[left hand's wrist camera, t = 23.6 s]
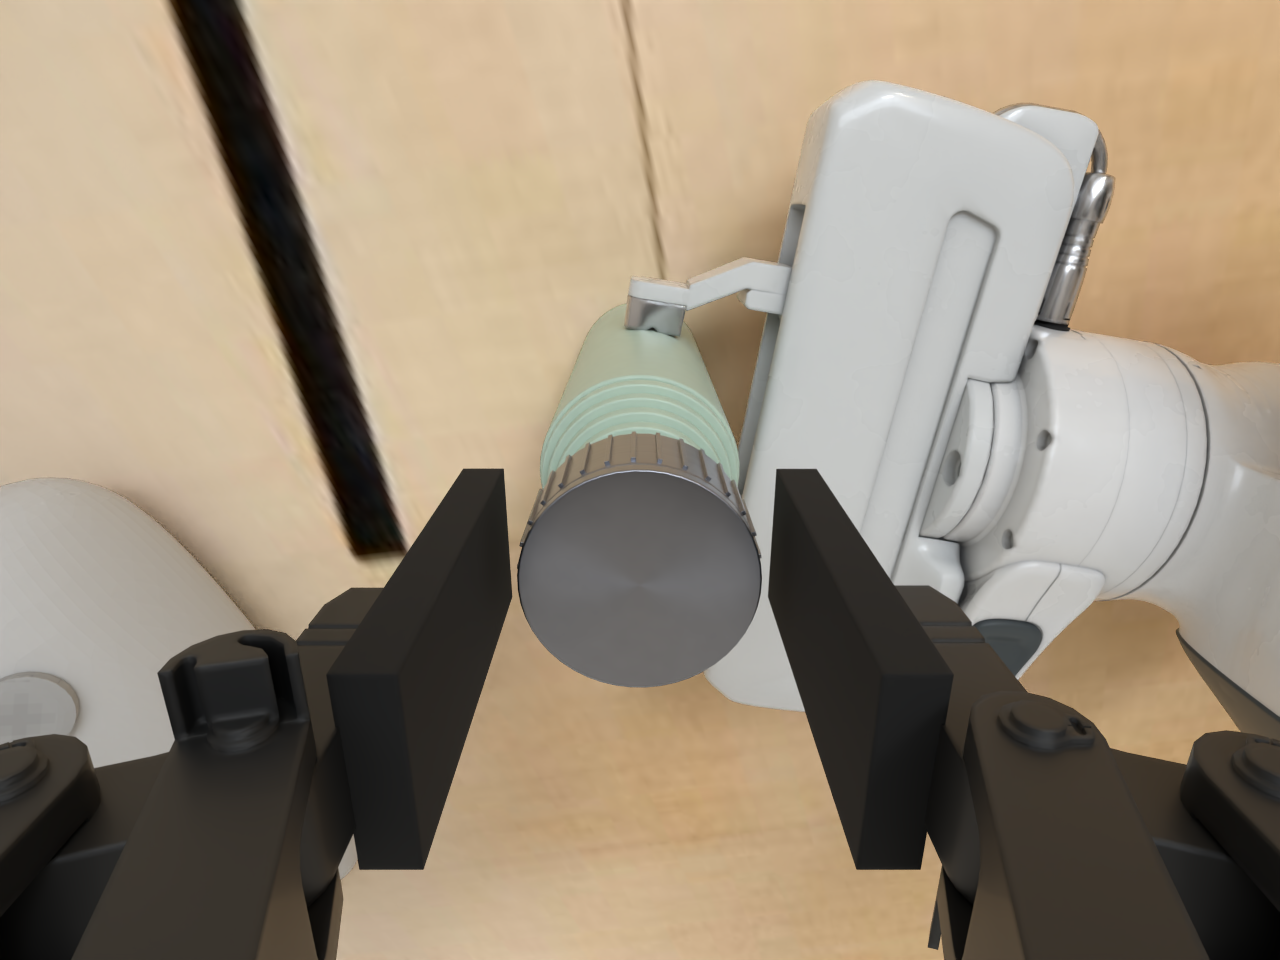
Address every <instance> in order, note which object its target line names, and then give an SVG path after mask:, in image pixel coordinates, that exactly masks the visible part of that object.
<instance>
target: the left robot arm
mask: <svg viewBox="0 0 1280 960" xmlns="http://www.w3.org/2000/svg"><path fill="white" fill-rule="evenodd" d="M511 599H512V586H511V571H510V557H509V542H508V527H507V512H506V497H505V482H504V469H463V470H462V472H461V473H460V475H459V476H458V478H457V479H456V481H455V482H454V484H453V485H452V487H451V488H450V490H449V491H448V493H447V494H446V496H445V497H444V499H443V500H442V502H441V503H440V505H439V506H438V508H437V509H436V511H435V512H434V514H433V515H432V517H431V518H430V520H429V521H428V523H427V524H426V526H425V527H424V529H423V530H422V532H421V533H420V535H419V536H418V538H417V539H416V541H415V542H414V544H413V545H412V547H411V548H410V550H409V551H408V553H407V554H406V556H405V557H404V559H403V560H402V562H401V563H400V565H399V566H398V568H397V569H396V571H395V572H394V574H393V575H392V577H391V578H390V580H389V581H388V583H387V584H386V586H385V587H384V588H350V589H349V590H347V591H346V592H344V593H342V594H341V595H339V596H338V597H336V598H334V599H333V600H331V601H330V602H328V603H327V604H325V605H324V606H323V607H322V608H321V610H320V611H319V612H318V614H317V615H316V616H315V617H314V619H313V620H312V621H311V622H310V624H309V628H308V629H305V630H304V631H303V633H302V634H301V635H300V636H299V638H298V639H297V640H296V641H295V640H294V639H292V638H291V637H290V636H288V635H287V634H286V633H282V632H277V631H272V630H268V629H263V630H242V631H237V632H232V633H227V634H223V635H218V636H215V637H212V638H210V639H207V640H205V641H202V642H199V643H197V644H194V645H192V646H190V647H188V648H187V649H185V650H183V651H182V652H180V653H179V654H177V655H175V656H174V657H172V658H170V660H169V661H168V662H167V663H166V664H165V665H164V666H163V667H162V668H161V669H160V670H159V671H158V673H157V674H158V678H159V682H160V686H161V689H162V693H163V697H164V701H165V705H166V708H167V712H168V716H169V720H170V724H171V727H172V731H173V735H174V739H175V740H174V743H173V745H172V747H171V749H170V751H169V752H166V753H162V754H159V755H155V756H150V757H146V758H141V759H136V760H131V761H126V762H121V763H117V764H112V765H107V766H102V767H97V768H94V766H93V763H92V760H91V757H90V754H89V750H88V747H87V745H86V744H84V743H83V742H82V741H80V740H79V739H78V738H77V737H74V736H67V735H59V734H50V735H42V736H34V737H26V738H22V739H18V740H13V742H10V743H9V742H7V743H4V744H1V745H0V960H336V955H337V947H338V939H339V930H340V922H341V914H342V905H343V893H342V886H341V880H340V874H339V869H338V867H339V864H340V862H341V860H342V858H343V856H344V853H345V851H346V849H347V847H348V845H349V842H350V840H351V838H352V836H353V835H354V840H355V846H356V852H357V858H358V864H359V869H360V870H423V869H424V866H425V863H426V860H427V857H428V854H429V851H430V848H431V845H432V842H433V838H434V835H435V832H436V829H437V826H438V823H439V820H440V817H441V814H442V811H443V808H444V805H445V802H446V799H447V795H448V792H449V789H450V786H451V783H452V780H453V777H454V774H455V771H456V768H457V765H458V762H459V759H460V756H461V752H462V749H463V746H464V743H465V740H466V737H467V734H468V731H469V728H470V725H471V722H472V719H473V716H474V713H475V709H476V706H477V703H478V700H479V697H480V694H481V691H482V688H483V685H484V682H485V679H486V676H487V673H488V670H489V666H490V663H491V660H492V657H493V654H494V651H495V648H496V645H497V642H498V639H499V636H500V633H501V630H502V627H503V623H504V620H505V617H506V614H507V611H508V608H509V605H510V602H511ZM768 599H769V602H770V605H771V608H772V611H773V614H774V617H775V620H776V623H777V627H778V630H779V633H780V636H781V639H782V642H783V645H784V648H785V651H786V654H787V657H788V660H789V663H790V666H791V670H792V673H793V676H794V679H795V682H796V685H797V688H798V691H799V694H800V697H801V700H802V703H803V706H804V709H805V713H806V716H807V719H808V722H809V725H810V728H811V731H812V734H813V737H814V740H815V743H816V746H817V749H818V753H819V756H820V759H821V762H822V765H823V768H824V771H825V774H826V777H827V780H828V783H829V786H830V789H831V792H832V796H833V799H834V802H835V805H836V808H837V811H838V814H839V817H840V820H841V823H842V826H843V829H844V832H845V835H846V839H847V842H848V845H849V848H850V851H851V854H852V857H853V860H854V863H855V866H856V869H857V870H920V869H921V864H922V858H923V852H924V846H925V840H926V834H927V832H928V834H929V836H930V839H931V841H932V843H933V845H934V847H935V850H936V852H937V854H938V856H939V858H940V860H941V863H942V869H941V874H940V880H939V885H938V891H937V896H936V901H935V907H934V912H933V918H932V923H931V928H930V935H929V942H928V948H933V949H937V950H938V947H939V942H940V937H942V945H943V953H944V960H1280V741H1279V740H1276V739H1273V738H1272V739H1269V737H1266V736H1261V735H1257V734H1250V733H1242V732H1234V731H1219V732H1211V733H1205V734H1204V735H1203V736H1201V737H1200V738H1199V739H1198V740H1196V741H1195V742H1194V744H1193V747H1192V750H1191V753H1190V757H1189V760H1188V763H1187V765H1185V764H1180V763H1175V762H1170V761H1165V760H1161V759H1156V758H1151V757H1146V756H1141V755H1136V754H1131V753H1126V752H1123V751H1119V750H1115V749H1112V748H1109V745H1108V743H1107V741H1106V739H1105V738H1104V736H1103V735H1102V734H1101V733H1100V731H1099V730H1098V729H1097V727H1096V726H1095V725H1094V723H1092V722H1091V721H1090V720H1088V719H1087V718H1085V717H1084V716H1083V715H1081V714H1080V713H1078V712H1077V711H1076V710H1074V709H1073V708H1071V707H1068V706H1066V705H1064V704H1062V703H1059V702H1057V701H1055V700H1053V699H1050V698H1047V697H1043V696H1039V695H1035V694H1031V693H1028V692H1027V691H1026V690H1025V689H1024V687H1023V686H1022V685H1021V684H1020V682H1019V681H1018V680H1017V679H1016V677H1015V676H1014V675H1013V673H1012V672H1011V671H1010V670H1009V668H1008V667H1007V666H1006V665H1005V663H1004V662H1003V661H1002V660H1001V658H1000V657H999V656H998V655H997V653H996V652H995V651H994V650H993V648H992V647H991V646H990V644H989V643H985V638H984V637H983V636H982V634H981V633H980V632H979V631H978V629H977V628H976V627H975V626H972V622H971V621H970V619H969V618H968V617H967V616H966V614H965V613H964V612H963V610H962V609H961V608H960V607H959V605H958V604H957V603H956V602H955V601H953V600H951V599H950V598H948V597H947V596H945V595H944V594H942V593H940V592H939V591H937V590H936V589H934V588H932V587H931V586H929V585H894V584H893V583H892V581H891V580H890V578H889V577H888V575H887V574H886V572H885V571H884V569H883V568H882V566H881V565H880V563H879V562H878V560H877V559H876V557H875V556H874V554H873V553H872V551H871V550H870V548H869V547H868V545H867V544H866V542H865V541H864V539H863V538H862V536H861V535H860V533H859V532H858V530H857V529H856V527H855V526H854V524H853V523H852V521H851V520H850V518H849V517H848V515H847V514H846V512H845V511H844V509H843V508H842V506H841V505H840V503H839V502H838V500H837V499H836V497H835V496H834V494H833V493H832V491H831V490H830V488H829V487H828V485H827V484H826V482H825V481H824V479H823V478H822V476H821V475H820V473H819V472H818V470H817V469H776V482H775V497H774V512H773V527H772V541H771V556H770V571H769V586H768Z"/></svg>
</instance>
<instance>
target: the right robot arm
mask: <svg viewBox="0 0 1280 960" xmlns="http://www.w3.org/2000/svg"><path fill="white" fill-rule="evenodd" d="M1090 158H1091V161H1092V164H1091V173H1086V170H1087V167H1088V164H1089V161H1090ZM1107 160H1108V155H1107V148H1106V144H1105V141H1104V138H1103V136H1102V134H1101V132H1100V130H1099V129H1098V127H1097V124H1096V123H1095V122H1094V121H1092V120H1091V119H1089V118H1088V117H1086V116H1085V115H1082V114H1080V113H1078V112H1076V111H1072V110H1067V109H1061V108H1056V107H1050V106H1045V105H1039V104H1034V103H1018V104H1012V105H1009V106H1006V107H1003V108H1001V109H999V110H997V111H995V112H993V113H990V112H988V111H985V110H982V109H979V108H977V107H974V106H971V105H968V104H965V103H963V102H960V101H957V100H953V99H950V98H947V97H944V96H941V95H937V94H934V93H931V92H927V91H924V90H920V89H916V88H912V87H908V86H904V85H900V84H895V83H890V82H885V81H879V80H868V81H862V82H857V83H855V84H852V85H850V86H848V87H846V88H844V89H842V90H840V91H839V92H837V93H836V94H834V95H833V96H832V97H830V98H829V99H828V100H826V101H825V102H824V103H823V104H822V105H820V106H819V107H818V108H817V109H815V110H814V111H813V113H812V114H811V115H810V117H809V119H808V122H807V126H806V130H805V135H804V139H803V144H802V149H801V154H800V158H799V163H798V168H797V172H796V177H795V182H794V186H793V191H792V196H791V200H790V205H789V210H788V215H787V219H786V224H785V229H784V233H783V238H782V243H781V247H780V252H779V257H778V262H771V261H765V260H759V259H752V258H746V257H742V258H740V259H737V260H735V261H732V262H730V263H727V264H725V265H722V266H719V267H717V268H714V269H712V270H709V271H707V272H704V273H702V274H699V275H697V276H694V277H692V278H689V279H687V281H686V283H680V282H674V281H668V280H662V279H656V278H649V277H643V276H631V280H630V286H629V293H628V299H627V306H626V314H625V321H624V326H625V327H627V328H631V329H635V330H648V329H650V328H652V327H653V328H654V329H655V330H656V331H657V332H658V333H662V334H666V335H672V336H679V337H680V335H681V330H682V324H683V319H684V314H685V309H686V311H688V310H691V309H693V308H696V307H699V306H701V305H704V304H707V303H709V302H712V301H715V300H718V299H720V298H723V297H726V296H728V295H731V294H734V293H736V292H737V298H738V300H739V301H740V302H741V303H742V304H743V305H744V306H745V307H746V308H747V309H751V310H756V311H762V312H767V313H766V318H765V323H764V327H763V332H762V337H761V341H760V346H759V351H758V355H757V360H756V365H755V369H754V374H753V379H752V384H751V388H750V393H749V398H748V402H747V407H746V412H745V416H744V421H743V426H742V430H741V435H740V440H739V445H738V455H739V463H740V468H739V481H738V490H739V493H740V496H741V499H744V500H745V503H746V506H747V509H748V512H749V514H750V517H751V520H752V523H753V526H754V529H755V531H756V534H757V536H755V538H756V541H757V544H758V546H759V549H760V552H761V557H762V558H760V561H761V570H762V586H761V595H760V599H759V603H758V607H757V610H756V613H755V615H754V618H753V620H752V622H751V624H750V626H749V627H748V629H747V631H746V633H745V634H744V636H743V637H742V638H741V640H740V641H739V642H738V644H737V645H736V646H735V647H734V648H733V649H732V650H731V651H730V652H729V653H728V654H727V655H726V656H725V657H724V658H722V659H721V660H720V661H719V662H717V663H716V664H715V665H713V666H711V667H710V668H708V669H707V670H705V671H703V672H704V675H705V678H706V679H707V680H708V681H709V683H710V684H711V685H712V686H713V687H715V688H716V689H717V690H718V691H719V692H720V693H721V694H723V695H724V696H725V697H726V698H727V699H729V700H731V701H733V702H737V703H740V704H745V705H750V706H756V707H763V708H771V709H779V710H789V711H799V712H805V709H804V706H803V703H802V700H801V697H800V694H799V691H798V688H797V685H796V682H795V679H794V676H793V673H792V670H791V666H790V663H789V660H788V657H787V654H786V651H785V648H784V645H783V642H782V639H781V636H780V633H779V630H778V627H777V623H776V620H775V617H774V614H773V611H772V608H771V605H770V602H769V599H768V586H769V571H770V556H771V541H772V527H773V512H774V497H775V482H776V469H817V470H818V472H819V473H820V475H821V476H822V478H823V479H824V481H825V482H826V484H827V485H828V487H829V488H830V490H831V491H832V493H833V494H834V496H835V497H836V499H837V500H838V502H839V503H840V505H841V506H842V508H843V509H844V511H845V512H846V514H847V515H848V517H849V518H850V520H851V521H852V523H853V524H854V526H855V527H856V529H857V530H858V532H859V533H860V535H861V536H862V538H863V539H864V541H865V542H866V544H867V545H868V547H869V548H870V550H871V551H872V553H873V554H874V556H875V557H876V559H877V560H878V562H879V563H880V565H881V566H882V568H883V569H884V571H885V572H886V574H887V575H888V577H889V578H890V580H891V581H892V583H893V584H894V585H929V586H931V587H932V588H934V589H936V590H937V591H939V592H940V593H942V594H944V595H945V596H947V597H948V598H950V599H951V600H953V601H955V602H956V603H957V604H958V605H959V607H960V608H961V609H962V610H963V612H964V613H965V614H966V616H967V617H968V618H969V619H970V621H971V622H972V626H975V627H976V628H977V629H978V631H979V632H980V633H981V634H982V636H983V637H984V638H985V643H989V644H990V646H991V647H992V648H993V650H994V651H995V652H996V653H997V655H998V656H999V657H1000V658H1001V660H1002V661H1003V662H1004V663H1005V665H1006V666H1007V667H1008V668H1009V670H1010V671H1011V672H1012V673H1013V675H1014V676H1015V677H1016V679H1017V680H1019V679H1020V677H1021V676H1022V675H1023V674H1024V672H1025V671H1026V670H1027V669H1028V668H1029V667H1030V665H1031V664H1032V663H1033V662H1034V661H1035V660H1036V658H1037V657H1038V656H1039V655H1040V654H1041V653H1042V652H1043V651H1044V649H1045V648H1046V647H1047V646H1048V645H1049V644H1050V643H1051V642H1052V641H1053V640H1054V639H1055V638H1056V637H1057V636H1058V635H1059V634H1060V633H1061V632H1062V631H1063V630H1064V629H1065V628H1066V627H1067V626H1068V625H1069V624H1070V623H1071V622H1072V621H1073V620H1074V619H1075V618H1077V617H1078V616H1079V615H1080V614H1081V613H1082V612H1083V611H1084V610H1086V609H1087V608H1088V607H1089V606H1090V605H1091V604H1092V603H1093V601H1109V600H1122V599H1133V600H1139V601H1145V602H1148V603H1151V604H1154V605H1157V606H1158V607H1160V608H1162V609H1164V610H1166V611H1167V612H1169V613H1171V614H1172V615H1173V616H1174V617H1175V618H1176V619H1177V621H1178V623H1179V628H1178V629H1177V630H1176V634H1177V637H1178V639H1179V641H1180V643H1181V645H1182V647H1183V649H1184V651H1185V653H1186V654H1187V656H1188V658H1189V659H1190V661H1191V662H1192V664H1193V665H1194V667H1195V668H1196V670H1197V671H1198V673H1199V674H1200V676H1201V677H1202V678H1203V680H1204V681H1205V682H1206V684H1207V685H1208V687H1209V688H1210V689H1211V691H1212V692H1213V693H1214V695H1215V696H1216V698H1217V699H1218V701H1219V702H1220V703H1221V705H1222V706H1223V707H1224V709H1225V710H1226V712H1227V713H1228V714H1229V716H1230V717H1231V719H1232V720H1233V721H1234V723H1235V724H1236V726H1237V727H1238V729H1239V730H1240V731H1241V732H1242V733H1250V734H1257V735H1261V736H1266V737H1269V739H1272V738H1273V739H1276V740H1279V741H1280V364H1279V363H1272V362H1238V363H1231V364H1224V365H1209V364H1205V363H1201V362H1199V361H1197V360H1196V359H1194V358H1192V357H1190V356H1189V355H1186V354H1184V353H1182V352H1180V351H1178V350H1175V349H1173V348H1170V347H1168V346H1164V345H1160V344H1156V343H1151V342H1146V341H1138V340H1132V339H1126V338H1120V337H1114V336H1108V335H1102V334H1096V333H1090V332H1084V331H1078V330H1073V329H1070V328H1068V324H1069V321H1070V318H1071V316H1072V313H1073V310H1074V307H1075V304H1076V301H1077V298H1078V296H1079V293H1080V290H1081V287H1082V284H1083V281H1084V278H1085V274H1086V271H1087V268H1086V266H1088V261H1089V259H1088V257H1089V256H1090V252H1091V250H1090V248H1091V247H1092V245H1093V241H1094V240H1093V238H1095V236H1096V233H1097V231H1098V228H1099V225H1100V223H1103V222H1104V220H1105V217H1106V215H1107V213H1108V210H1109V208H1110V205H1111V201H1112V198H1113V193H1114V188H1115V177H1114V176H1112V175H1107V174H1106V171H1107Z"/></svg>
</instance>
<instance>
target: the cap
mask: <svg viewBox="0 0 1280 960" xmlns="http://www.w3.org/2000/svg"><path fill="white" fill-rule="evenodd" d="M755 536H757V534H756V531H755V529H754V526H753V523H752V520H751V517H750V514H749V512H748V509H747V506H746V503H745V500H744V499H741V496H740V493H739V490H738V487H737V484H736V482H735V480H732V481H731V480H730V478H729V477H728V476H727V474H726V473H725V472H724V469H723V466H722V464H721V463H720V462H719V463H718V464H717V463H716V462H715V461H714V460H712V459H711V458H710V457H708V456H707V455H706V454H705V451H704V450H703V449H700V450H698V449H697V448H695V447H693V446H691V445H689V444H687V443H684V440H683V439H681V438H679V440H677V439H674V438H670V437H666V436H662V435H660V433H657V432H656V434H640V433H636V431H633V432H632V434H624V435H618V436H613V435H608V438H605V439H603V440H600V441H597V442H595V443H592V444H590V442H589V443H587V444H586V445H585V448H583V449H581V450H579V451H578V452H576V453H575V454H574V455H572V456H570V455H568V456H567V457H566V459H565V462H564V463H563V464H562V465H561V466H560V467H559V468H558V469H557V470H556V471H553V470H552V471H551V473H550V475H549V478H548V481H547V484H546V485H545V487H544V489H540V490H539V492H538V495H537V497H536V500H535V503H534V506H533V509H532V511H531V514H530V517H529V519H528V522H527V525H526V528H525V531H524V534H523V536H522V539H521V542H520V546H521V547H522V550H521V554H520V558H519V562H518V565H517V569H518V573H517V580H518V593H519V598H520V603H521V606H522V609H523V612H524V615H525V617H526V619H527V621H528V623H529V625H530V627H531V629H532V631H533V632H534V634H535V635H536V636H537V638H538V639H539V641H540V642H541V643H542V644H543V645H544V646H545V648H546V649H547V650H548V651H549V652H550V653H551V654H552V655H554V656H555V657H556V658H557V659H558V660H559V661H561V662H562V663H563V664H565V665H567V666H568V667H570V668H571V669H573V670H574V671H576V672H578V673H580V674H582V675H584V676H586V677H589V678H592V679H594V680H597V681H600V682H604V683H608V684H612V685H617V686H625V687H654V686H662V685H667V684H672V683H676V682H679V681H682V680H685V679H688V678H691V677H693V676H695V675H697V674H699V673H701V672H703V671H705V670H707V669H708V668H710V667H711V666H713V665H715V664H716V663H717V662H719V661H720V660H721V659H722V658H724V657H725V656H726V655H727V654H728V653H729V652H730V651H731V650H732V649H733V648H734V647H735V646H736V645H737V644H738V642H739V641H740V640H741V638H742V637H743V636H744V634H745V633H746V631H747V629H748V627H749V626H750V624H751V622H752V620H753V618H754V615H755V613H756V610H757V607H758V603H759V599H760V595H761V586H762V570H761V561H760V558H762V557H761V552H760V549H759V546H758V544H757V541H756V538H755Z"/></svg>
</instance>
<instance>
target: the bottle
mask: <svg viewBox="0 0 1280 960" xmlns="http://www.w3.org/2000/svg"><path fill="white" fill-rule="evenodd" d="M626 306H627V304H623V305H620V306H617V307H615V308H613V309H611V310H610V311H608V312H606V313H605V314H604V315H603V316H601V317H600V318H599V319H598V320H597V321H596V322H595V324H594V325H593V326H592V328H591V329H590V331H589V333H588V335H587V337H586V339H585V341H584V344H583V346H582V349H581V351H580V354H579V356H578V358H577V361H576V363H575V366H574V368H573V371H572V373H571V376H570V378H569V381H568V383H567V386H566V388H565V390H564V393H563V395H562V398H561V400H560V403H559V405H558V408H557V410H556V413H555V415H554V417H553V420H552V422H551V425H550V427H549V430H548V432H547V435H546V438H545V441H544V444H543V448H542V453H541V459H540V476H541V484H542V489H544V487H545V485H546V484H547V481H548V478H549V475H550V473H551V471H552V470H553V471H556V470H557V469H558V468H559V467H560V466H561V465H562V464H563V463H564V462H565V459H566V457H567V456H568V455H570V456H572V455H574V454H575V453H576V452H578V451H579V450H581V449H583V448H585V445H586V444H587V443H589V442H590V444H592V443H595V442H597V441H600V440H603V439H605V438H608V435H613V436H618V435H624V434H632V432H633V431H636V433H640V434H656V432H657V433H660V435H662V436H666V437H670V438H674V439H677V440H679V438H681V439H683V440H684V443H687V444H689V445H691V446H693V447H695V448H697V449H698V450H700V449H703V450H704V451H705V454H706V455H707V456H708V457H710V458H711V459H712V460H714V461H715V462H716V463H717V464H718V463H719V462H720V463H721V464H722V466H723V469H724V472H725V473H726V474H727V476H728V477H729V478H730V480H731V481H732V480H735V482H736V484H737V487H738V481H739V468H740V463H739V455H738V449H737V445H736V442H735V438H734V436H733V433H732V431H731V428H730V426H729V423H728V421H727V419H726V416H725V414H724V411H723V409H722V406H721V404H720V401H719V399H718V396H717V394H716V391H715V389H714V386H713V384H712V381H711V379H710V376H709V374H708V371H707V369H706V366H705V364H704V361H703V359H702V356H701V354H700V352H699V349H698V347H697V344H696V342H695V339H694V337H693V335H692V333H691V331H690V329H689V328H688V326H687V325H686V324H685V322H684V321H683V324H682V330H681V335H680V337H679V336H672V335H666V334H662V333H658V332H657V331H656V330H655V329H654V328H653V327H652V328H650V329H648V330H635V329H631V328H627V327H625V326H624V321H625V314H626Z"/></svg>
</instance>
